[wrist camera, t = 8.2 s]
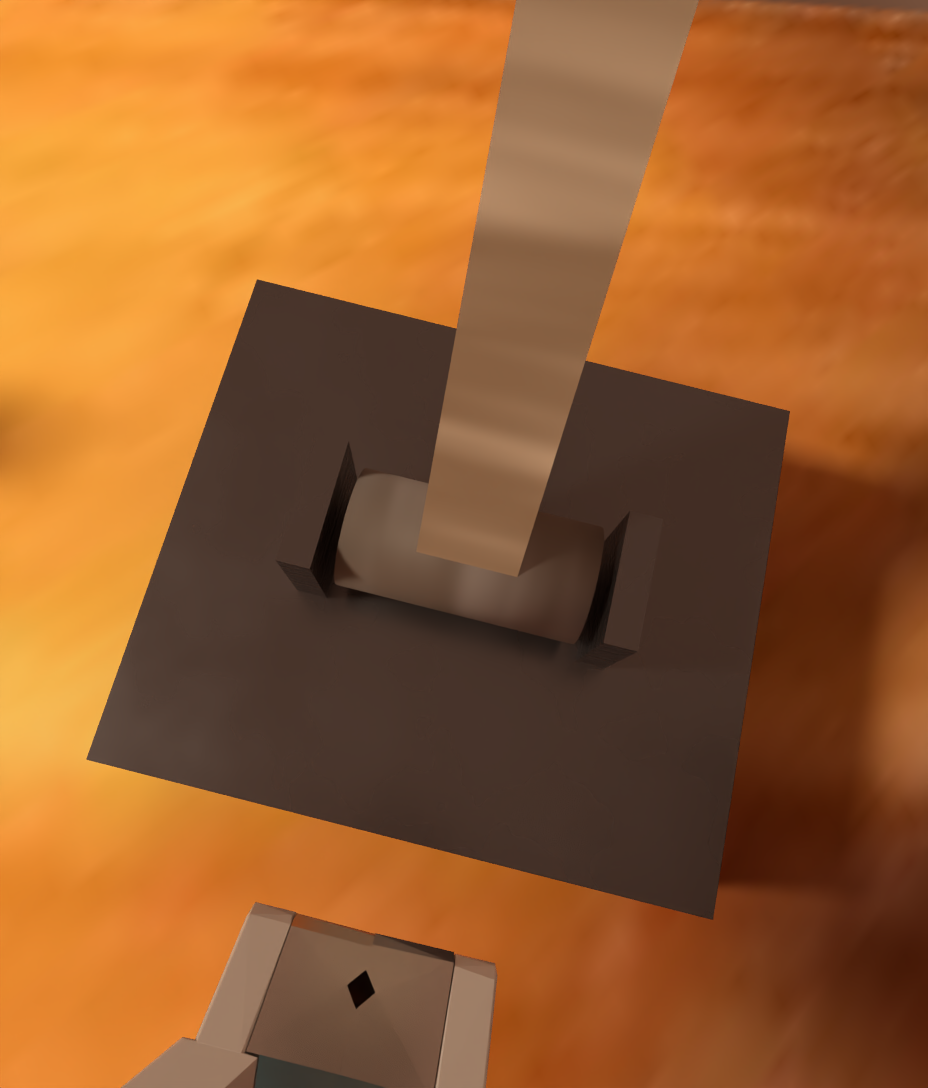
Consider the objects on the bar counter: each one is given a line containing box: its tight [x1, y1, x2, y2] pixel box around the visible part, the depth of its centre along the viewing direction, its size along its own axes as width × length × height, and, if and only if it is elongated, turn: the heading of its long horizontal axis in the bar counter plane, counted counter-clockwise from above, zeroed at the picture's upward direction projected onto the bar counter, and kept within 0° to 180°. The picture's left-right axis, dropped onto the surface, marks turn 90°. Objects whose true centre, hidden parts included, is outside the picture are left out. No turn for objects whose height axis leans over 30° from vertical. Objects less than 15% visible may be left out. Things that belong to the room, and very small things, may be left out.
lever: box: [334, 0, 699, 644], centre depth 14 cm, size 4×6×22 cm
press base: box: [86, 280, 790, 920], centre depth 23 cm, size 14×16×9 cm
